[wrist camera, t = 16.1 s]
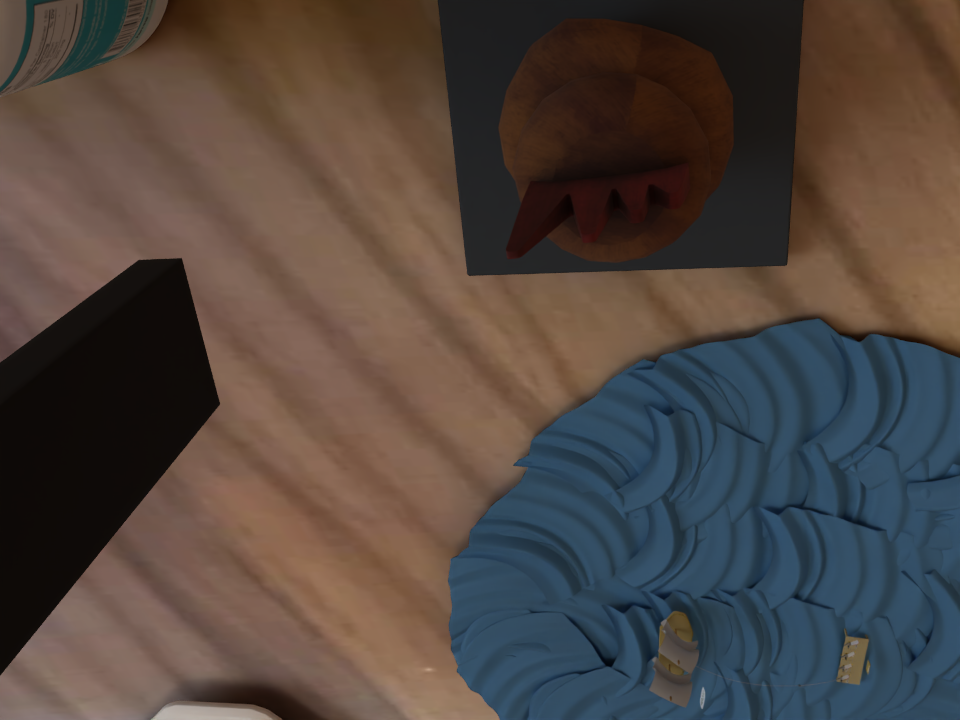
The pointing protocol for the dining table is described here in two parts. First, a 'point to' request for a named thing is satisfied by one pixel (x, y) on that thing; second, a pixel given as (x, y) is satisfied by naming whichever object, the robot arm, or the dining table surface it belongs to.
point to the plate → (213, 711)
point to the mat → (669, 8)
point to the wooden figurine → (613, 139)
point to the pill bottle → (68, 36)
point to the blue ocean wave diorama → (730, 542)
